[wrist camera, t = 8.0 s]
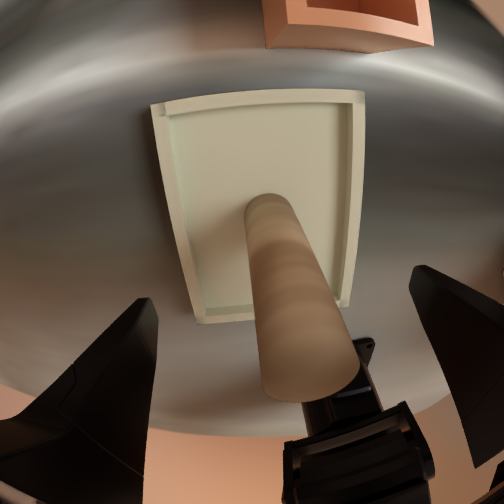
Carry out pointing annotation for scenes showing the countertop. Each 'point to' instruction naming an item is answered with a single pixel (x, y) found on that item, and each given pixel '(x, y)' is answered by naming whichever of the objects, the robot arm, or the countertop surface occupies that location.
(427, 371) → the countertop surface
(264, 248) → the pin
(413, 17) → the orange open box
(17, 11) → the countertop surface
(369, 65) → the countertop surface
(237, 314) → the tray
